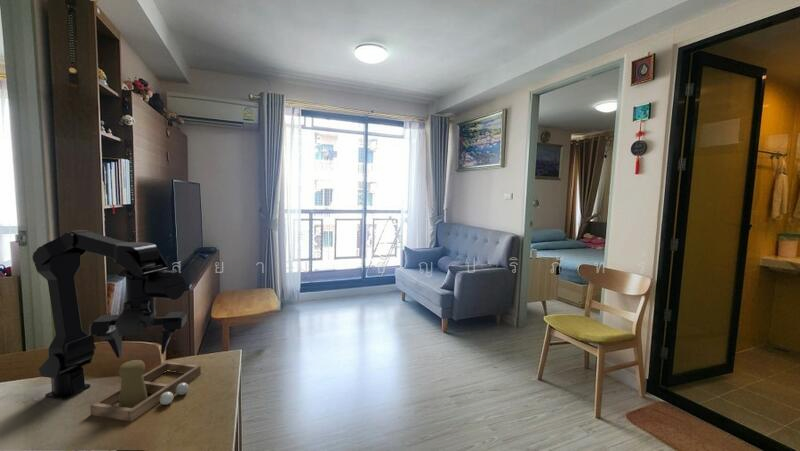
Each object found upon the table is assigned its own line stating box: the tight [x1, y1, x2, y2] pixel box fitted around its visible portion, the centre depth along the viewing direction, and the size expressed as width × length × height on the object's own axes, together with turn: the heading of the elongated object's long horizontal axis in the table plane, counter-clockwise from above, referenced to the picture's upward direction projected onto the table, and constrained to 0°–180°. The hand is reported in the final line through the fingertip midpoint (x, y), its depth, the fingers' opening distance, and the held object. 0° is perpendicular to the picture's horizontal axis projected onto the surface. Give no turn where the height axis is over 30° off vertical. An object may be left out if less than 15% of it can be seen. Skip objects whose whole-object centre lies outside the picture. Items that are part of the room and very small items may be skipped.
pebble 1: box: [159, 392, 175, 406], centre depth 87 cm, size 3×3×3 cm
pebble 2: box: [175, 383, 189, 396], centre depth 92 cm, size 3×3×3 cm
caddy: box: [90, 361, 202, 422], centre depth 92 cm, size 12×22×2 cm, turn 171°
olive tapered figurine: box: [118, 359, 149, 408], centre depth 87 cm, size 6×6×11 cm
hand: (141, 355), depth 86 cm, fingers open, 9 cm apart
